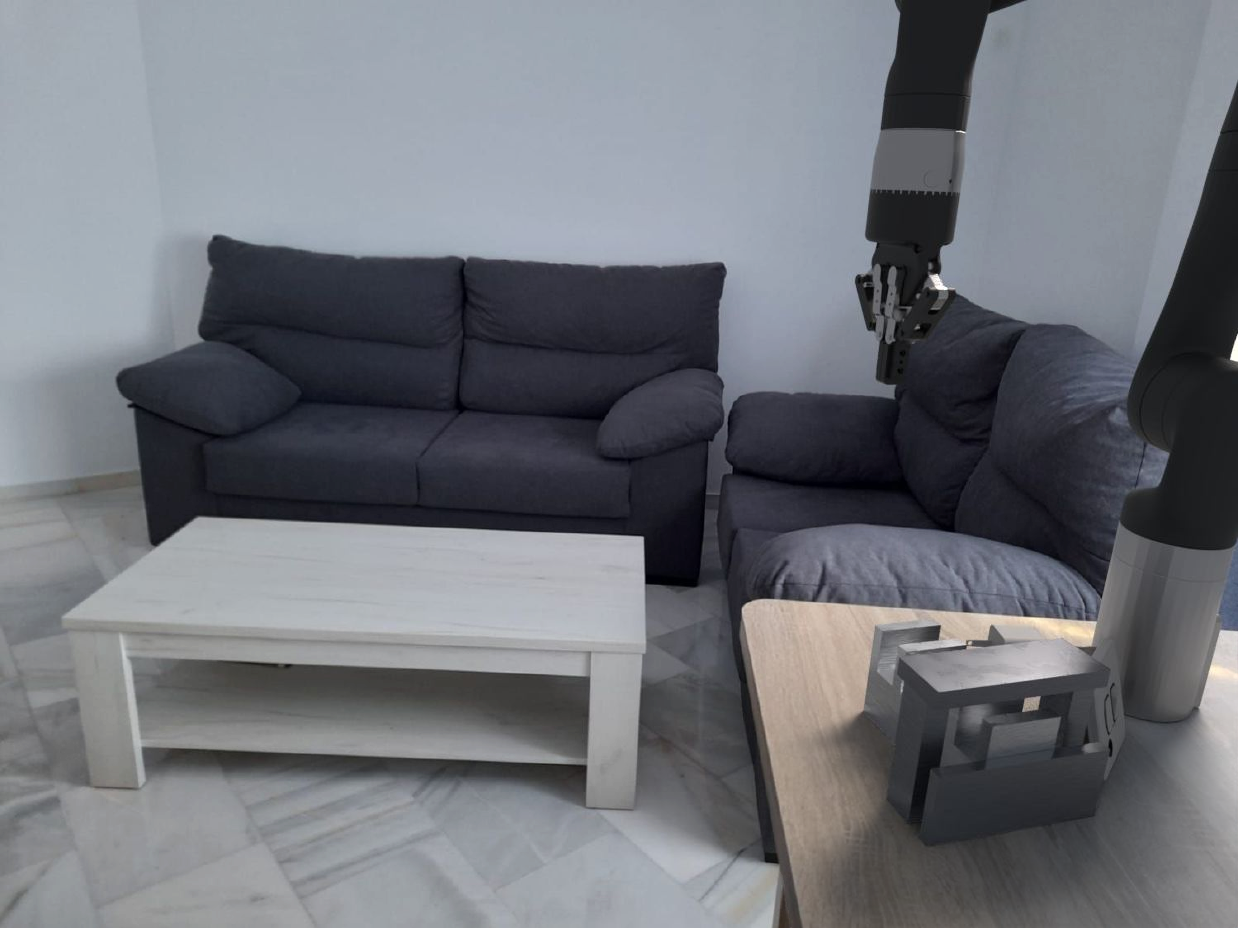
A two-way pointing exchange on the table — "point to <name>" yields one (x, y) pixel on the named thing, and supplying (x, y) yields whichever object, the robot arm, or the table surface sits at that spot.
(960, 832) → the grey open box frame
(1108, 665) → the electrical switch
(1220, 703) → the table surface
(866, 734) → the table surface
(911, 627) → the heatsink block
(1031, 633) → the usb wall charger
